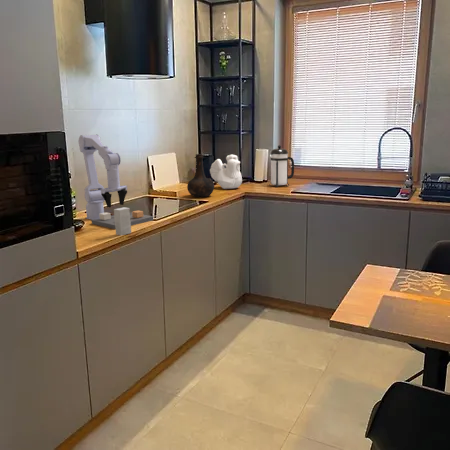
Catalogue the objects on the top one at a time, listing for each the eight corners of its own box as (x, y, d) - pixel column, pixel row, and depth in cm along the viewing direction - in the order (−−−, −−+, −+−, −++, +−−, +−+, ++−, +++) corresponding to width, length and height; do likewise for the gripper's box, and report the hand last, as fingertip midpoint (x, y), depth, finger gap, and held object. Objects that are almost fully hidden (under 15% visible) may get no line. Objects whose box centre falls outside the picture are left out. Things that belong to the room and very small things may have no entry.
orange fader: (132, 216, 239) (132, 211, 238) (138, 215, 242) (138, 210, 241) (137, 217, 236) (137, 212, 236) (143, 216, 239) (143, 211, 239)
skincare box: (125, 231, 218) (123, 207, 215) (131, 233, 216) (129, 208, 213) (115, 234, 214) (113, 209, 211) (121, 235, 211) (119, 210, 208)
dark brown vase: (210, 199, 297) (209, 155, 290) (184, 198, 301) (182, 155, 294) (217, 194, 314) (216, 152, 307) (191, 193, 318) (190, 152, 311)
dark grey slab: (91, 223, 236) (91, 219, 235) (129, 215, 254) (129, 211, 253) (115, 229, 223) (115, 225, 223) (153, 220, 241) (153, 216, 240)
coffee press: (287, 188, 333) (287, 146, 326) (266, 187, 340) (266, 145, 333) (294, 184, 348) (294, 144, 341) (274, 183, 355) (274, 144, 348)
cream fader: (99, 219, 236) (99, 213, 235) (106, 217, 239) (105, 212, 238) (104, 220, 233) (103, 214, 232) (111, 218, 236) (110, 213, 235)
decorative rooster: (246, 188, 336) (246, 153, 331) (232, 191, 325) (231, 155, 319) (221, 185, 353) (220, 152, 347) (206, 188, 341) (205, 154, 335)
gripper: (106, 181, 217) (108, 209, 220) (130, 177, 228) (132, 204, 231) (97, 179, 221) (99, 207, 225) (121, 176, 232) (123, 202, 235)
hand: (115, 205), depth 228 cm, fingers open, 7 cm apart
